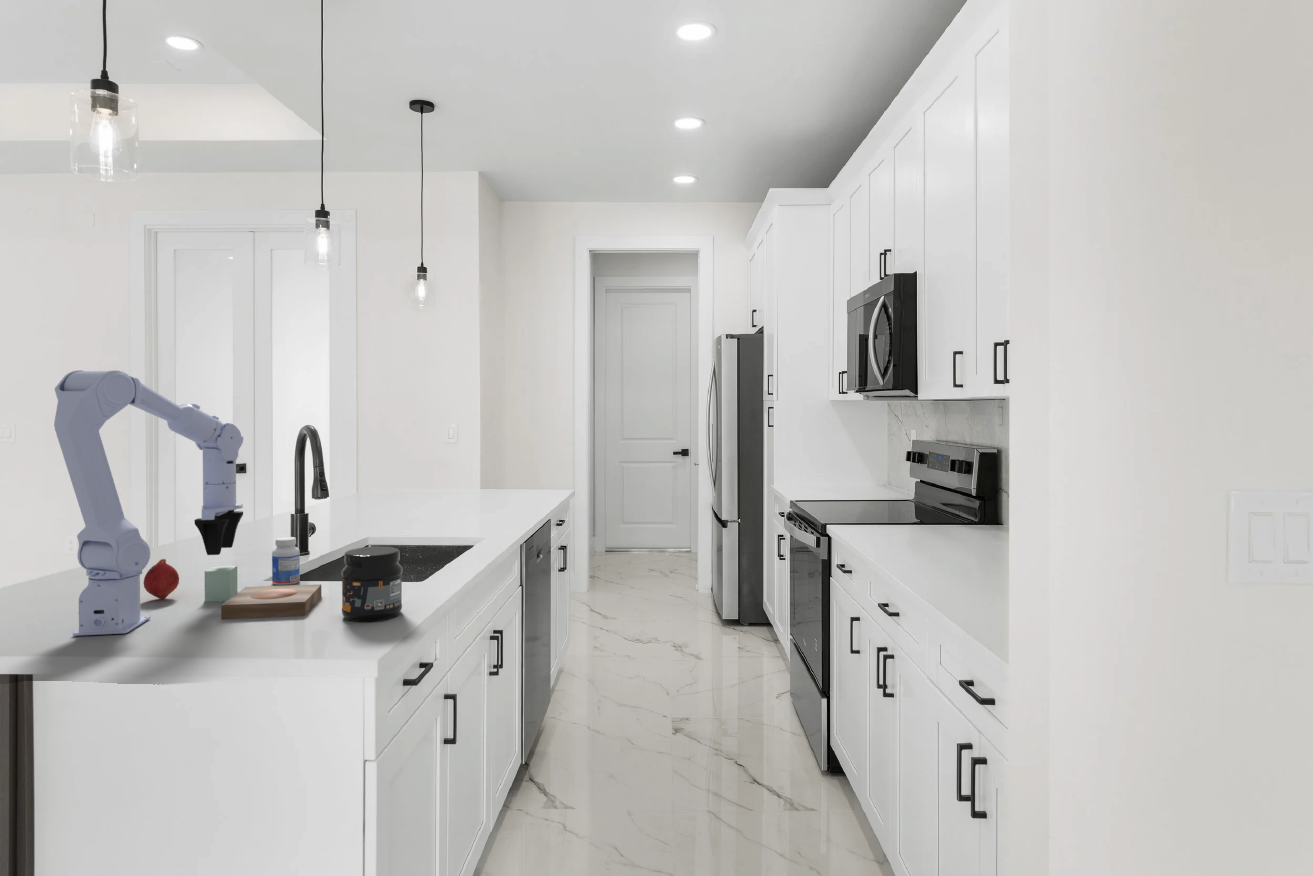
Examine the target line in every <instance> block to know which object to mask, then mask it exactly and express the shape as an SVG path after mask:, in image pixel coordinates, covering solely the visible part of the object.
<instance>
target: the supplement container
mask: <svg viewBox="0 0 1313 876" xmlns="http://www.w3.org/2000/svg"><path fill="white" fill-rule="evenodd" d="M400 554H401V553H400V550H399V549H398V548H395V547H391V546H366V547H359V548H353V549H349V550H346V552H344V559H343V561H344V565H345V566H344V567H343V569H342V570H341V573H340V575H341V577H342V578H341V580H342V581H341V590H342V591H341V597H342V598H341V599H342V600H341V604H342V605H341V614H342V616H343V617H344V618H345V619H346V620H348V621H351V622H352V621H353V622H357V623H358V622H359V623H360V622H361V623H370V622H371V623H373V622H379V621H385V620H389V619H391V618H395V617H396V616H398V615H399V614H400V613H401V612H402V610H403V603H402V602H403V601H402V600H403V599H402V587H403V586H402V583H403V581H402V579H403V578H402V576H403V567H402V565H401V564H400V563H399V561H400V559H401V558H400ZM394 616H395V617H394Z"/></svg>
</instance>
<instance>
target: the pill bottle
mask: <svg viewBox="0 0 1313 876" xmlns="http://www.w3.org/2000/svg"><path fill="white" fill-rule="evenodd" d="M274 544H275V546H276V547H275V548H274V549H273V550H272V552H271V573H272V574H271V577H272V578H271V579H272V584H273V585H274V586H288V585H295V584H298V583H299V582H300V580H301V579H300V578H301V576H300V575H301V573H300V571H301V570H300V568H301V567H300V565H301V564H300V561H301V560H300V559H301V557H300V549H299V548H298V547H296V545H297V538H296V537H294V536H283V537H277V538H275V543H274Z"/></svg>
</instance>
